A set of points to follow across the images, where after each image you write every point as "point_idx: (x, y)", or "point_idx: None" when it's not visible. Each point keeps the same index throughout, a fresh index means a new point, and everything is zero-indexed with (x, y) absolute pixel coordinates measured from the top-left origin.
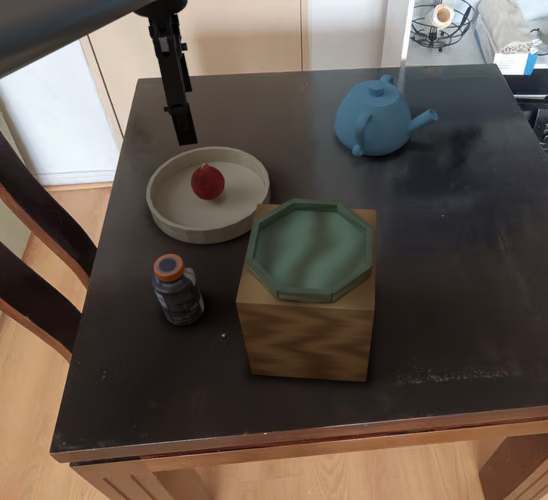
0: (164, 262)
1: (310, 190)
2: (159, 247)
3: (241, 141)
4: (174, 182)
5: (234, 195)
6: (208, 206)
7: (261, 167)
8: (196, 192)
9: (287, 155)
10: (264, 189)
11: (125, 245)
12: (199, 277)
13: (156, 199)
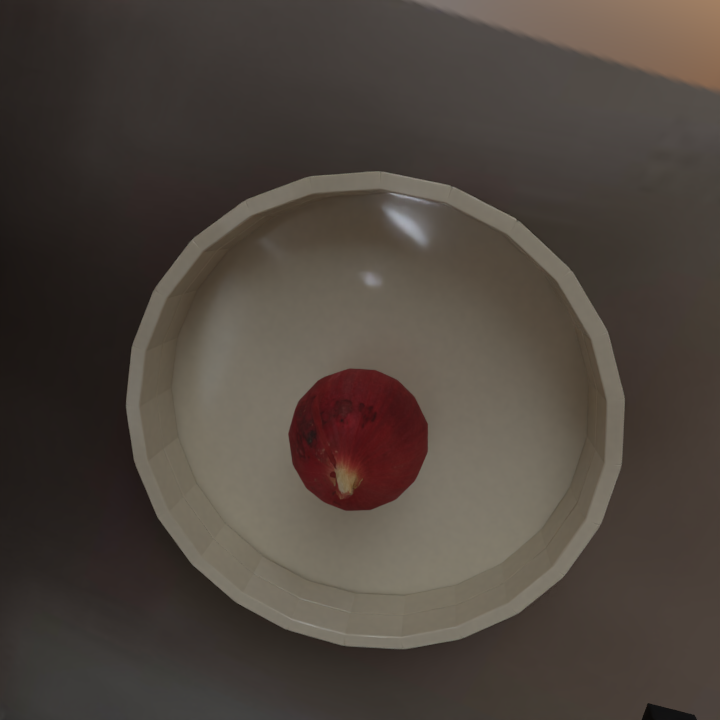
0: None
1: (289, 697)
2: (204, 173)
3: (650, 610)
4: (519, 304)
5: None
6: None
7: (380, 639)
8: (318, 381)
9: (486, 712)
10: (260, 603)
11: (254, 48)
12: (44, 273)
13: (449, 212)
